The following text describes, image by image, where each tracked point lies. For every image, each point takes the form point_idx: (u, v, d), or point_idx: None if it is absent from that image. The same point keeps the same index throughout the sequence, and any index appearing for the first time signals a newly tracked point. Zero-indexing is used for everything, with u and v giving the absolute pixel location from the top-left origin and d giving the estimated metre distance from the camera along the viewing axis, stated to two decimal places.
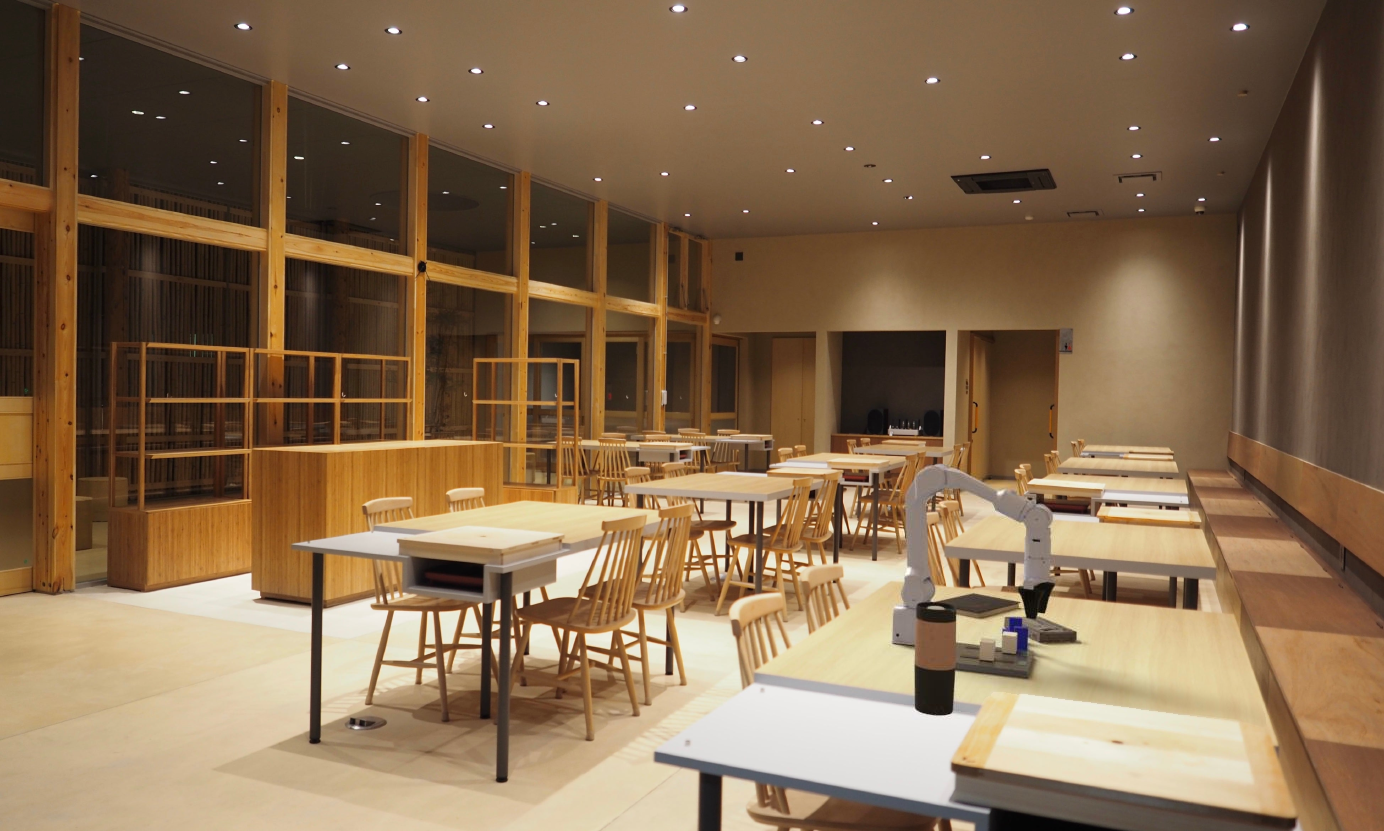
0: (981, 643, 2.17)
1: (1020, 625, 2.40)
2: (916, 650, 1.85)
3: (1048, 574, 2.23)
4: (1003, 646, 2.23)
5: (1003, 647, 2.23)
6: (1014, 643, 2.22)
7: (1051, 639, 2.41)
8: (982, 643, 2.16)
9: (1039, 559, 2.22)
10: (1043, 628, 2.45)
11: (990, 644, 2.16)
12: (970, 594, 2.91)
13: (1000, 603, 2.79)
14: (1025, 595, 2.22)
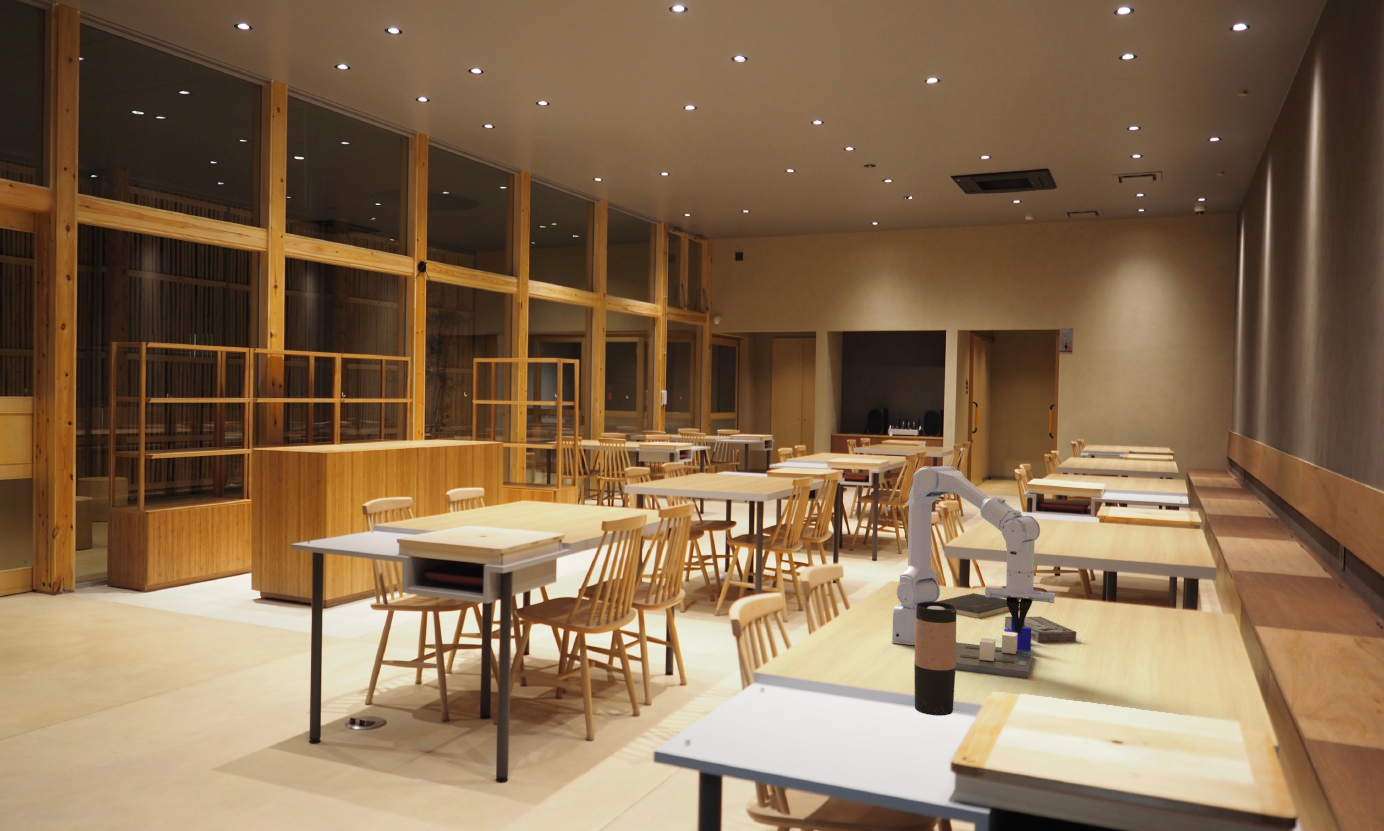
0: (981, 643, 2.17)
1: None
2: (916, 650, 1.85)
3: (1015, 588, 2.13)
4: (1003, 646, 2.23)
5: (1003, 647, 2.23)
6: (1014, 643, 2.22)
7: (1050, 639, 2.41)
8: (982, 643, 2.16)
9: (1007, 571, 2.15)
10: (1042, 628, 2.45)
11: (990, 644, 2.16)
12: (970, 594, 2.91)
13: (1000, 603, 2.79)
14: None
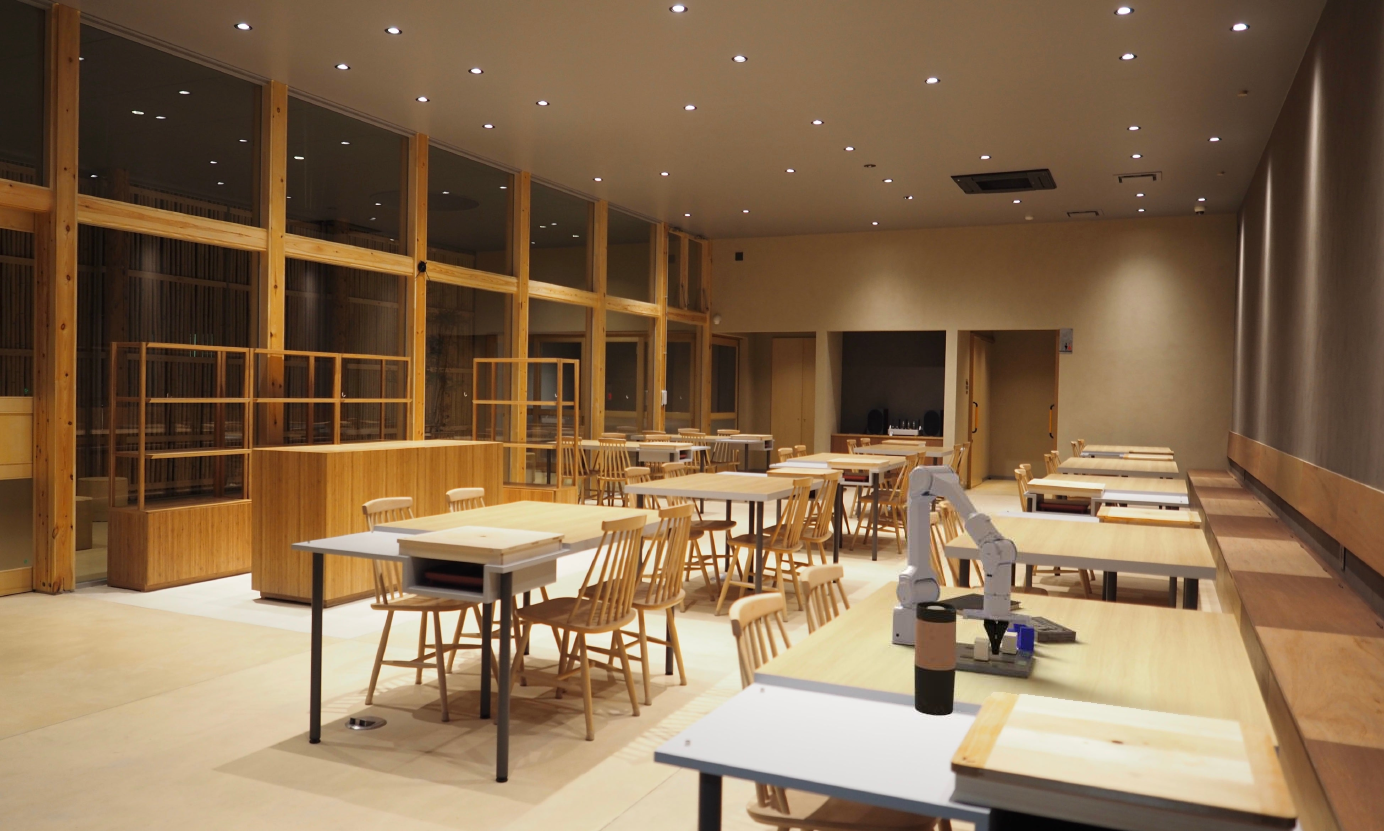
0: (975, 642, 2.17)
1: (1025, 625, 2.40)
2: (916, 650, 1.85)
3: (992, 611, 2.15)
4: (1003, 646, 2.23)
5: (1003, 647, 2.23)
6: (1014, 643, 2.22)
7: (1049, 639, 2.41)
8: (976, 642, 2.17)
9: (984, 593, 2.17)
10: (1042, 628, 2.45)
11: (985, 643, 2.16)
12: (970, 594, 2.91)
13: None
14: None
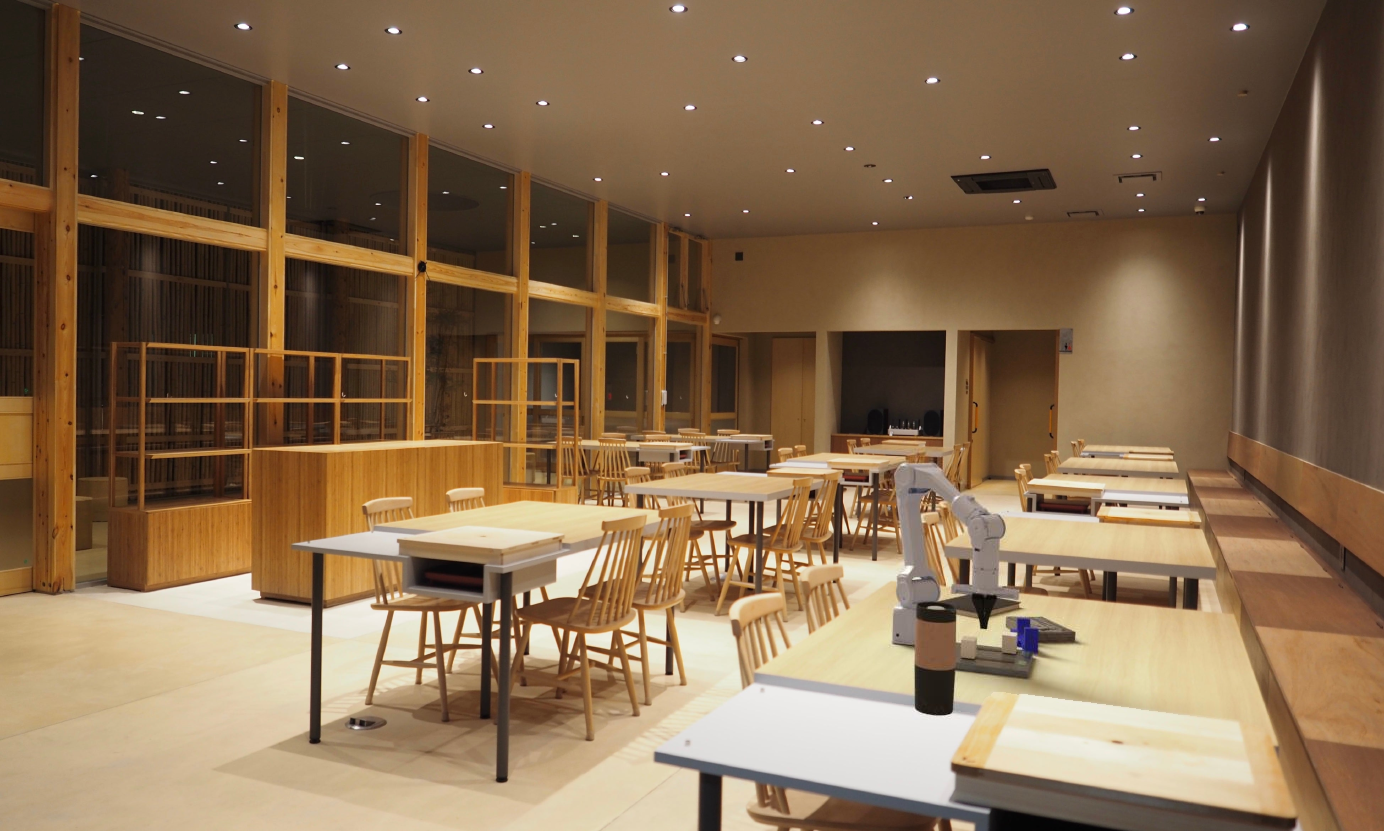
0: (962, 641, 2.18)
1: (1028, 626, 2.40)
2: (916, 650, 1.85)
3: (980, 585, 2.16)
4: (1003, 646, 2.23)
5: (1003, 647, 2.23)
6: (1014, 643, 2.22)
7: (1048, 639, 2.41)
8: (963, 641, 2.18)
9: (973, 568, 2.18)
10: (1042, 628, 2.45)
11: (972, 642, 2.17)
12: None
13: (1000, 603, 2.79)
14: None
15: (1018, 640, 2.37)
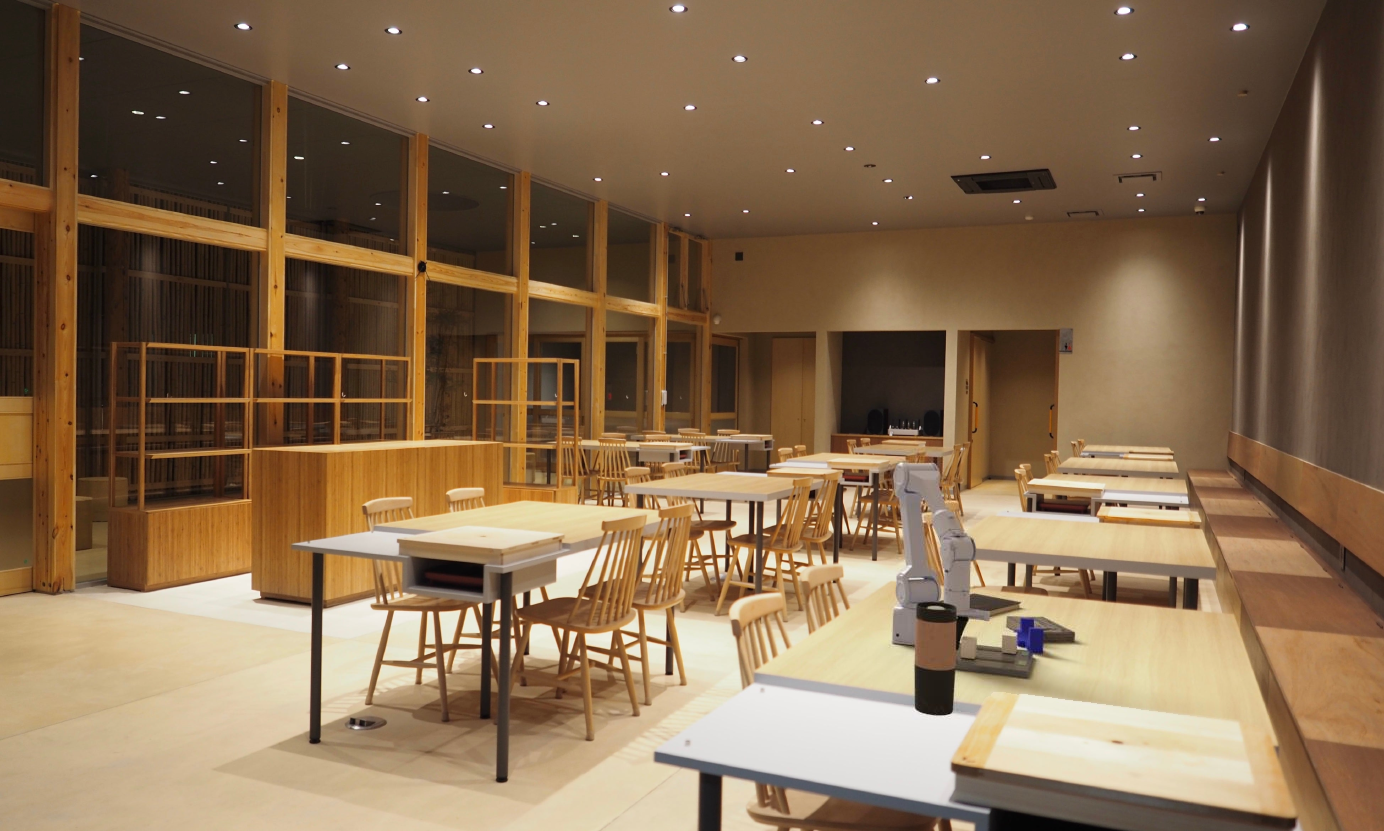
0: (962, 641, 2.18)
1: (1032, 626, 2.40)
2: (916, 650, 1.85)
3: None
4: (1003, 646, 2.23)
5: (1003, 647, 2.23)
6: (1014, 643, 2.22)
7: (1048, 639, 2.41)
8: (963, 641, 2.18)
9: (944, 589, 2.20)
10: None
11: (972, 642, 2.17)
12: (971, 594, 2.91)
13: (1001, 603, 2.79)
14: None
15: (1022, 640, 2.37)
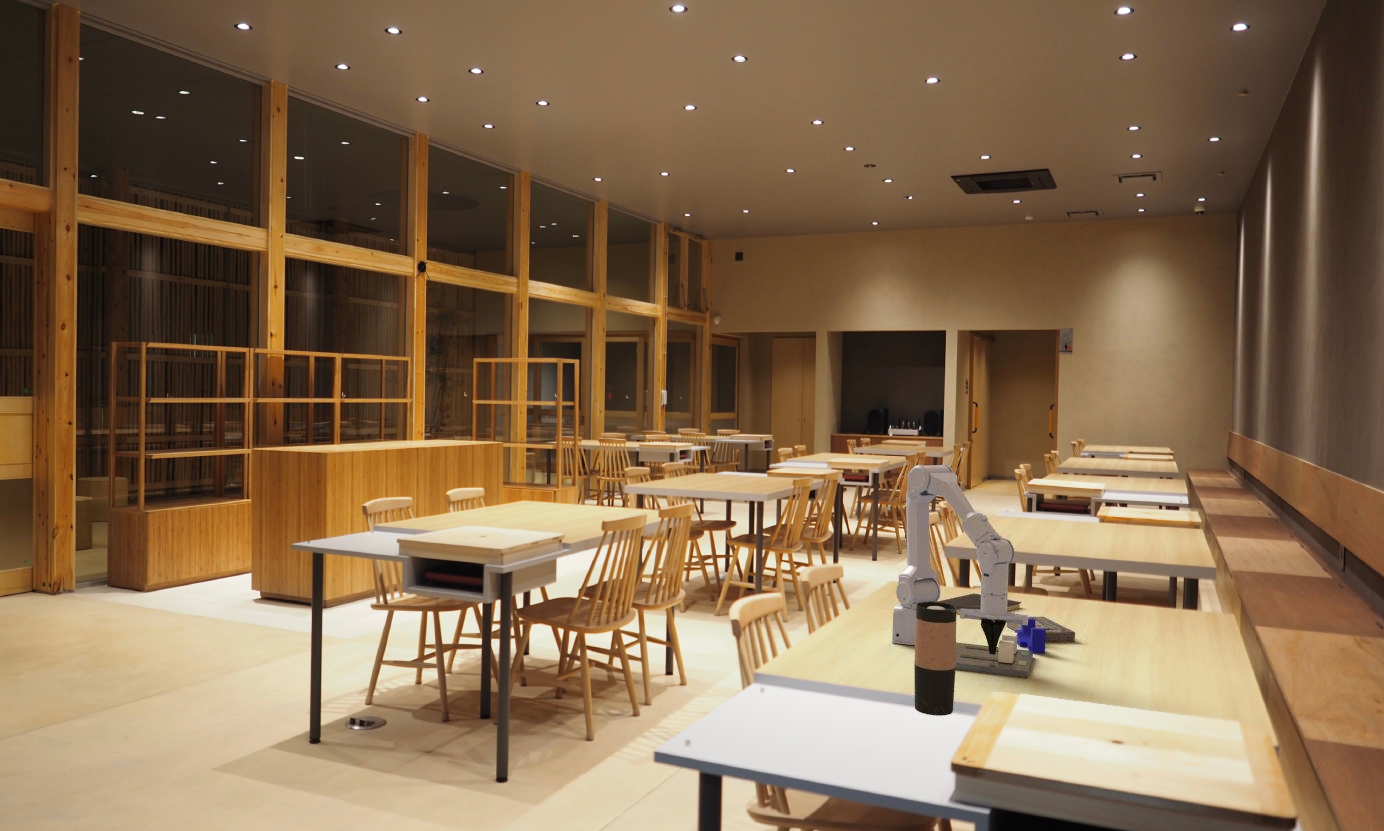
0: (1000, 645, 2.15)
1: (1033, 626, 2.40)
2: (916, 650, 1.85)
3: (989, 610, 2.15)
4: None
5: None
6: (1014, 643, 2.22)
7: (1048, 639, 2.41)
8: (1001, 645, 2.15)
9: (981, 593, 2.17)
10: None
11: (1009, 646, 2.14)
12: (971, 594, 2.91)
13: None
14: None
15: (1024, 641, 2.36)
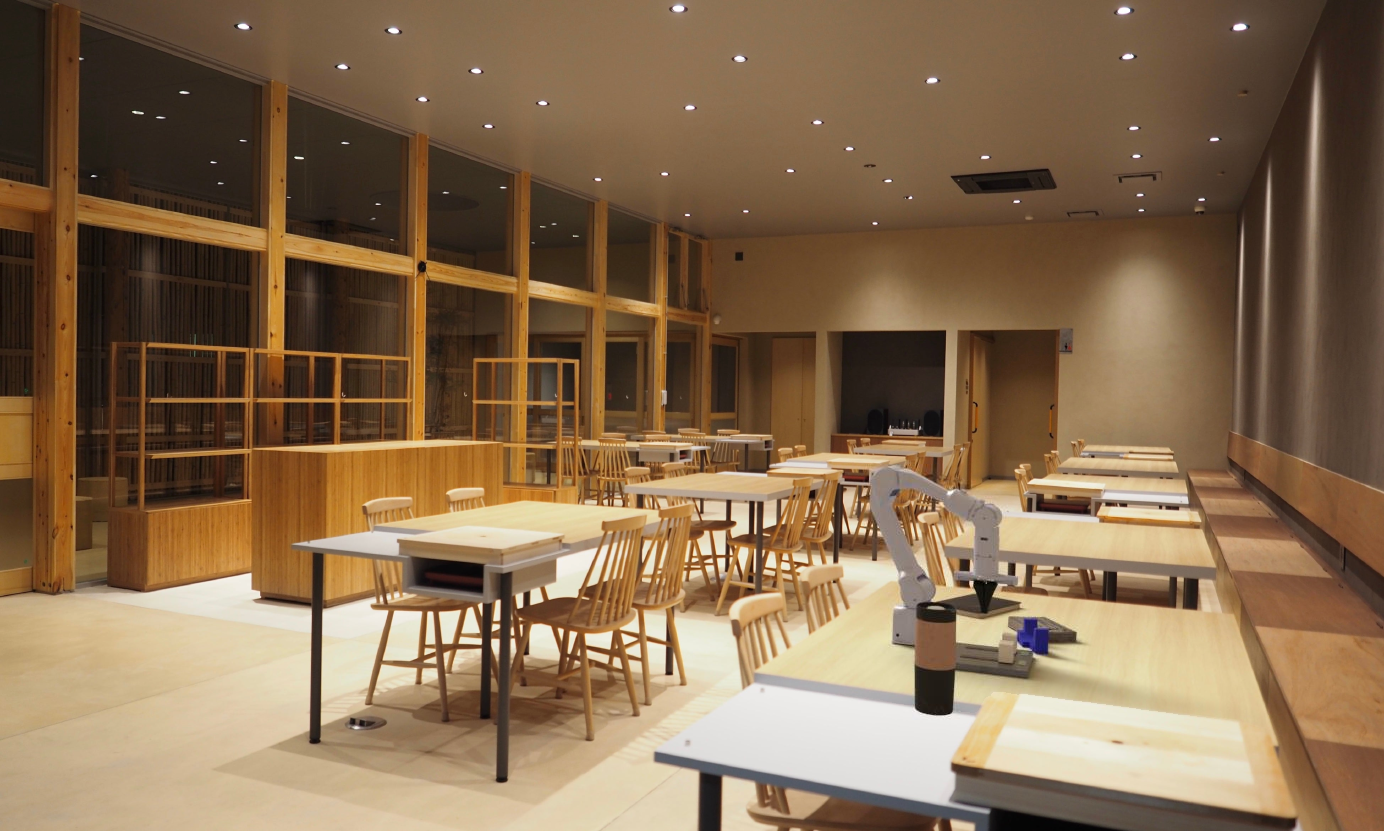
0: (1000, 645, 2.15)
1: (1035, 626, 2.39)
2: (916, 650, 1.85)
3: (981, 572, 2.27)
4: None
5: None
6: (1014, 643, 2.22)
7: (1049, 639, 2.41)
8: (1001, 645, 2.15)
9: (974, 555, 2.29)
10: None
11: (1009, 646, 2.14)
12: (971, 594, 2.91)
13: (1001, 603, 2.79)
14: None
15: (1026, 641, 2.36)
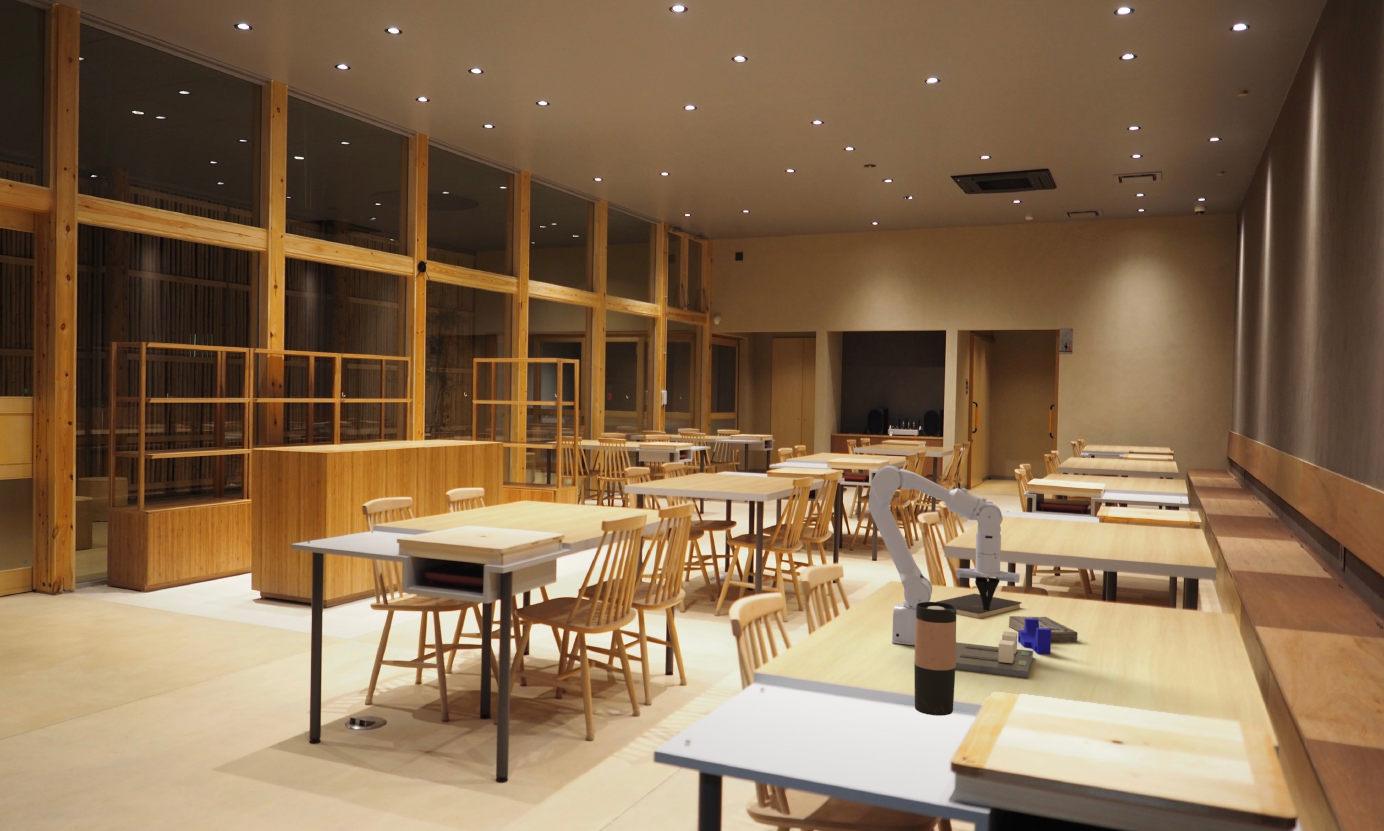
0: (1000, 645, 2.15)
1: (1037, 626, 2.39)
2: (916, 650, 1.85)
3: (983, 569, 2.31)
4: None
5: None
6: (1014, 643, 2.22)
7: None
8: (1001, 645, 2.15)
9: (976, 553, 2.33)
10: None
11: (1009, 646, 2.14)
12: (971, 594, 2.91)
13: (1001, 603, 2.79)
14: None
15: (1028, 641, 2.36)
